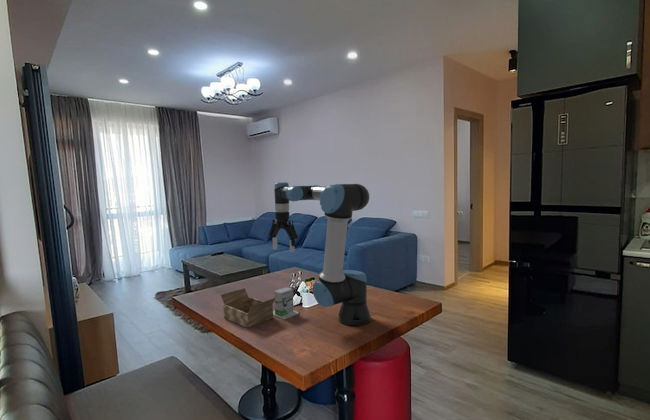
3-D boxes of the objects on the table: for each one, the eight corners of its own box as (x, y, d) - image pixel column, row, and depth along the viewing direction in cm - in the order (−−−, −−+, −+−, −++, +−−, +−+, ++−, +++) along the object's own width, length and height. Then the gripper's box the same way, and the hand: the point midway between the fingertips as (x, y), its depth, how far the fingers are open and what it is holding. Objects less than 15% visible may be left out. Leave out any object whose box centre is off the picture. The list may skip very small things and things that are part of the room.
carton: (277, 319, 164) (276, 297, 163) (251, 329, 152) (250, 306, 151) (246, 307, 180) (245, 287, 179) (220, 316, 169) (219, 295, 168)
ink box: (281, 316, 165) (280, 292, 164) (274, 314, 168) (273, 290, 167) (294, 311, 171) (293, 288, 170) (287, 309, 175) (286, 286, 174)
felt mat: (299, 313, 170) (299, 312, 170) (284, 319, 162) (284, 318, 162) (283, 308, 178) (283, 307, 178) (268, 313, 170) (268, 312, 170)
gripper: (303, 211, 177) (304, 252, 179) (272, 209, 193) (273, 246, 195) (293, 212, 171) (294, 254, 173) (261, 210, 187) (263, 248, 189)
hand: (283, 250), depth 184 cm, fingers open, 13 cm apart
